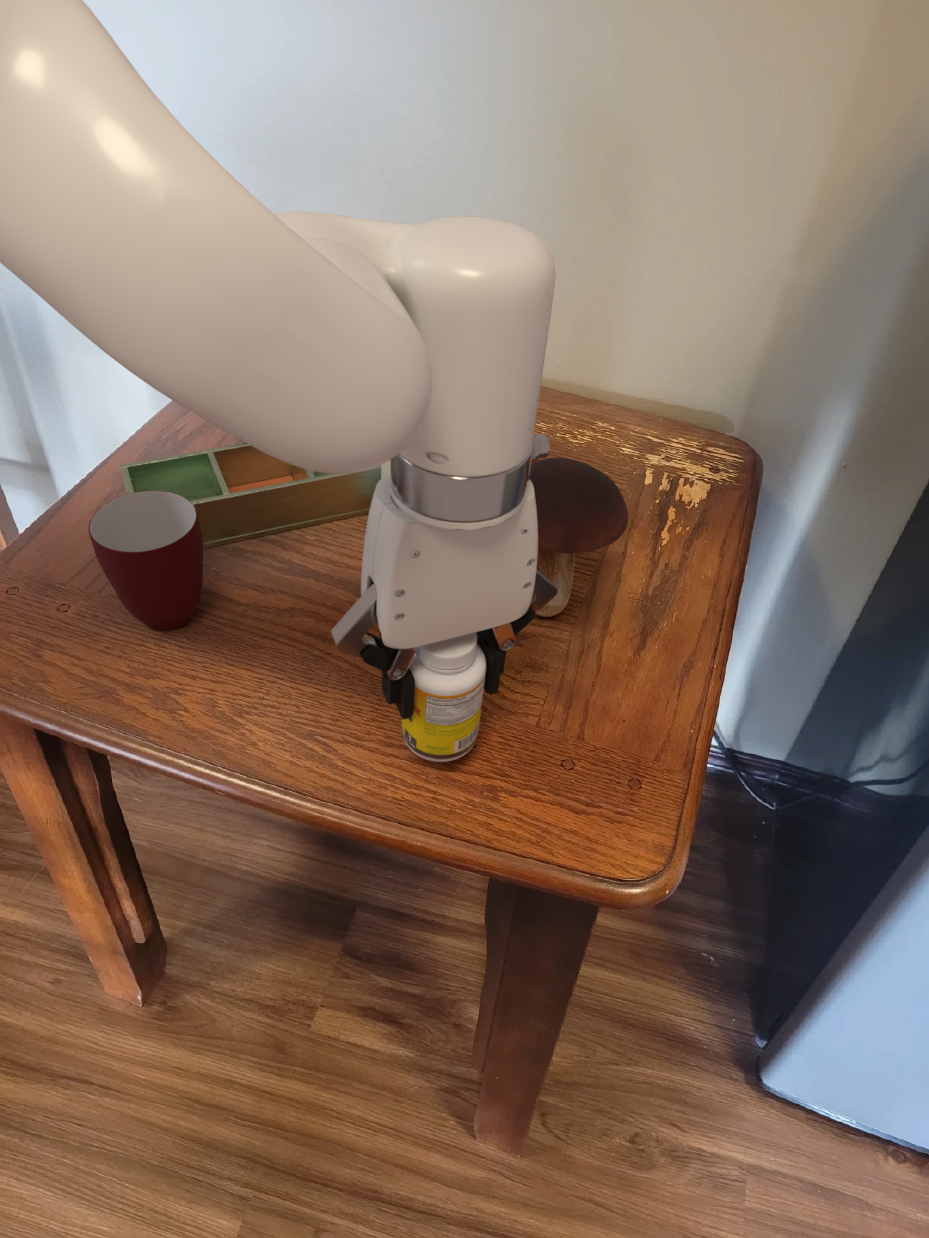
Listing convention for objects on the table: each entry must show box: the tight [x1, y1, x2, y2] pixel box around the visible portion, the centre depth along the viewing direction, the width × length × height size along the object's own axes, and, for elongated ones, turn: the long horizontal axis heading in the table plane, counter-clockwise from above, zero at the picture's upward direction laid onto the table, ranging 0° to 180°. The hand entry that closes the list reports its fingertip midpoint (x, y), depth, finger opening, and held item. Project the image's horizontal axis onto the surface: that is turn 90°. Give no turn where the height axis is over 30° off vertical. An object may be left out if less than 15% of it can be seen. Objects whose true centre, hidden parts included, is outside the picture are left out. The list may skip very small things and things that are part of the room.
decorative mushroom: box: [530, 457, 629, 618], centre depth 70 cm, size 11×11×15 cm
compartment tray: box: [119, 442, 381, 550], centre depth 82 cm, size 8×24×5 cm, turn 114°
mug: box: [88, 490, 204, 632], centre depth 69 cm, size 11×8×10 cm
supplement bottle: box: [401, 632, 486, 763], centre depth 58 cm, size 6×6×10 cm
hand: (442, 689), depth 58 cm, fingers closed on supplement bottle, 5 cm apart
